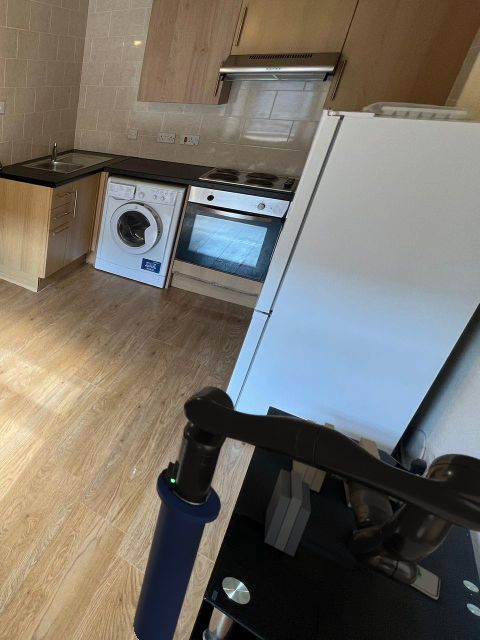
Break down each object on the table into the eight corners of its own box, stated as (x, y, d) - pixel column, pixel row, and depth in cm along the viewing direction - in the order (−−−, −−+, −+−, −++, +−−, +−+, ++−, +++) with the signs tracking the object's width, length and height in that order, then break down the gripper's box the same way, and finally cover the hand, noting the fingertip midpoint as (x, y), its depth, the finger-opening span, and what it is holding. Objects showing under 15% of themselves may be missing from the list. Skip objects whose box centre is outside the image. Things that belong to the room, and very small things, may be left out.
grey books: (264, 542, 101) (281, 491, 96) (265, 513, 109) (282, 465, 104) (293, 556, 98) (313, 505, 93) (293, 526, 106) (311, 477, 100)
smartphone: (438, 599, 89) (349, 545, 100) (437, 602, 89) (348, 548, 100) (441, 577, 93) (355, 528, 104) (439, 580, 94) (354, 531, 105)
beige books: (293, 481, 119) (309, 435, 114) (292, 460, 127) (308, 416, 122) (318, 492, 116) (337, 445, 111) (316, 470, 123) (334, 425, 118)
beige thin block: (347, 506, 112) (366, 460, 107) (343, 480, 120) (361, 437, 115) (362, 512, 110) (382, 466, 105) (357, 485, 118) (375, 442, 113)
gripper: (416, 509, 96) (401, 467, 109) (338, 478, 104) (332, 442, 117) (404, 532, 99) (391, 488, 111) (329, 500, 107) (324, 462, 119)
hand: (361, 464), depth 114 cm, fingers open, 8 cm apart
